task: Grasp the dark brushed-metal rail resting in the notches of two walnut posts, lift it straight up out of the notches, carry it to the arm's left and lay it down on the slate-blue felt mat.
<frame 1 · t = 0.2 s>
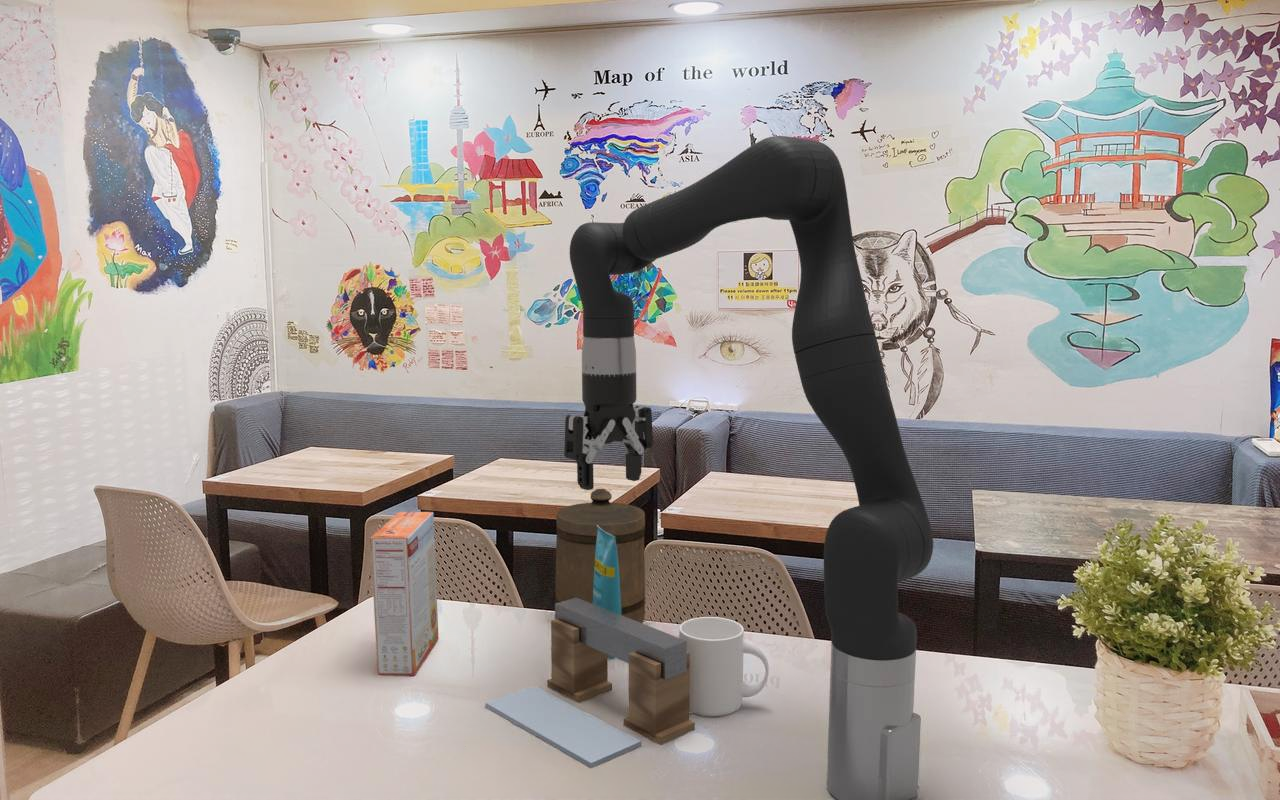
hand: (610, 484, 142), 28 cm above the table, tool pointing down, fingers open, 8 cm apart
rail: (617, 650, 135), point 8 cm above the table, touching post a, post b
wooden container: (600, 619, 169), on the table
cracker box: (408, 658, 153), on the table
post a: (658, 727, 130), on the table
mug: (723, 706, 137), on the table
mat: (560, 725, 131), on the table
post b: (579, 688, 142), on the table
tube: (606, 654, 154), on the table
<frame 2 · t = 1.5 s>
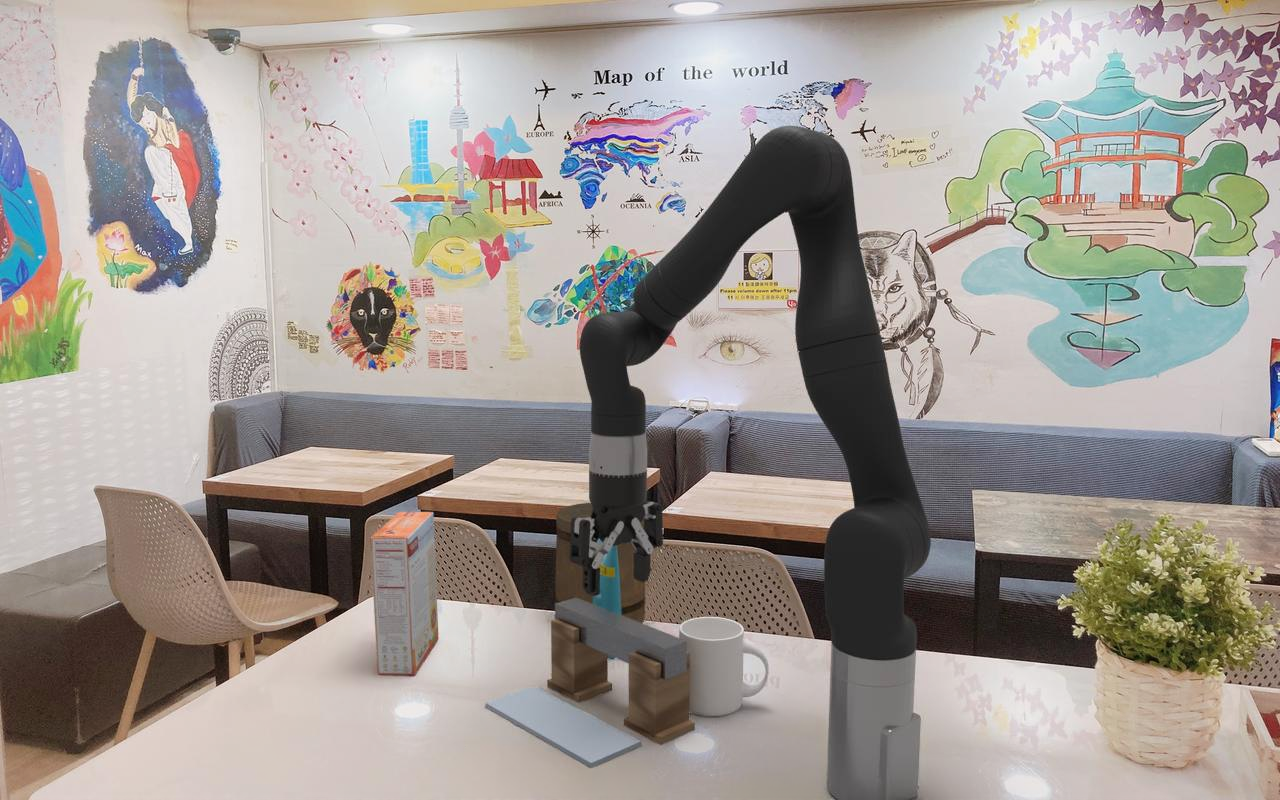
hand: (617, 587, 134), 17 cm above the table, tool pointing down, fingers open, 8 cm apart
nothing on the table moved.
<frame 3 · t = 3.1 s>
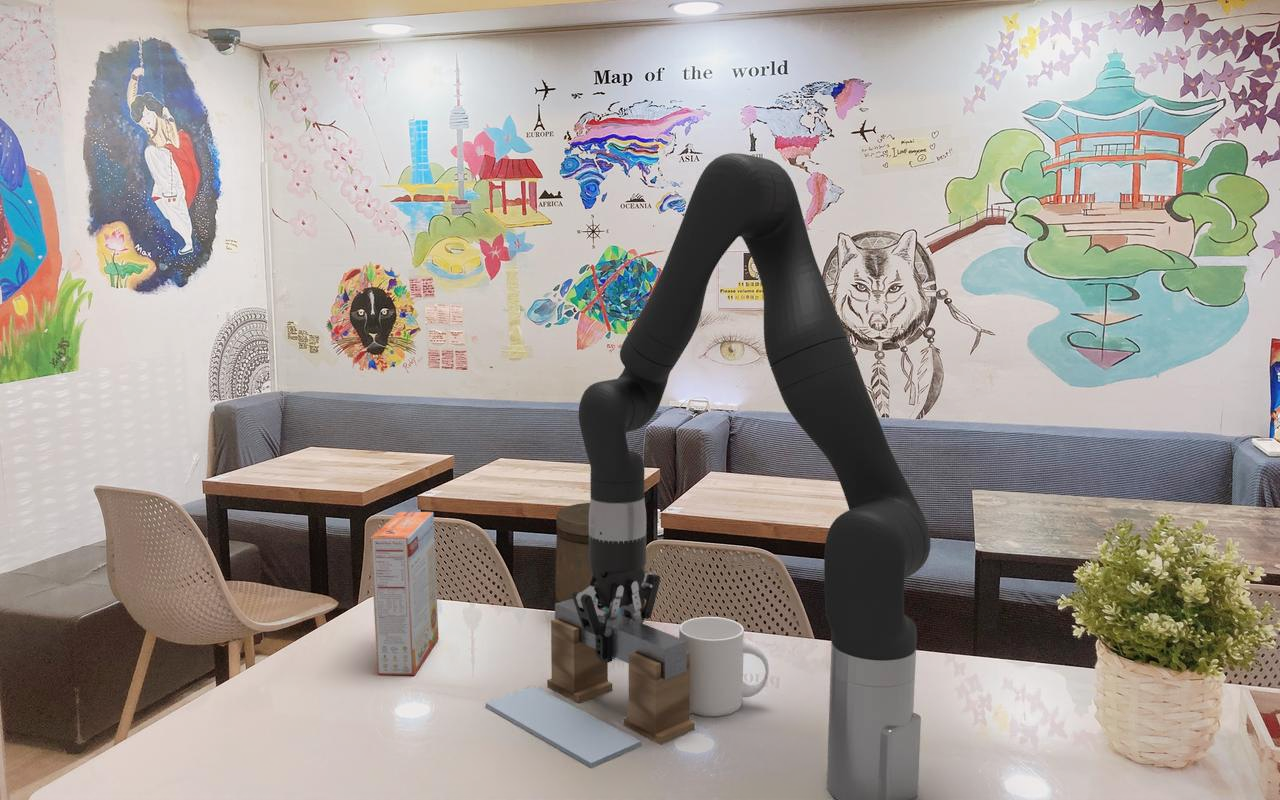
hand: (617, 655, 135), 7 cm above the table, tool pointing down, fingers closed on rail, 3 cm apart
rail: (617, 650, 135), point 8 cm above the table, touching gripper, post a, post b
everything else where it was.
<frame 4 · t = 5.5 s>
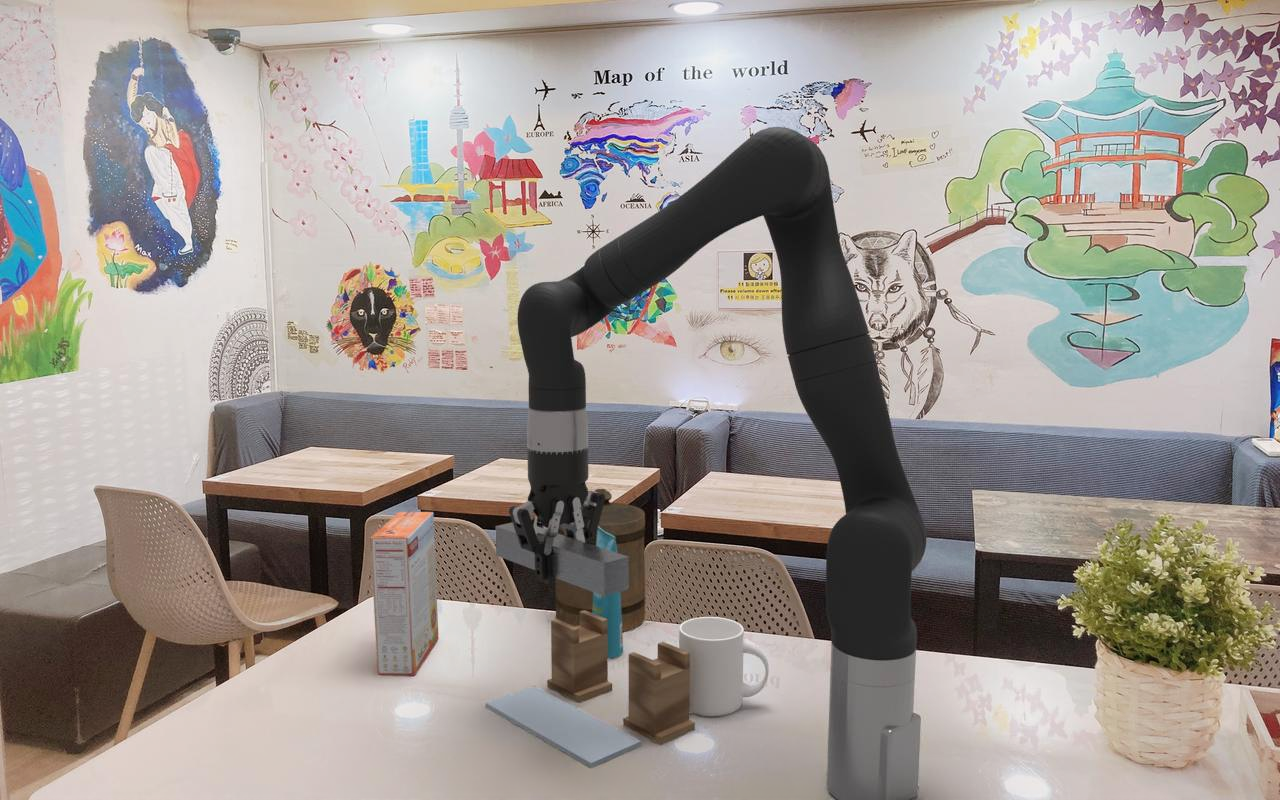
hand: (559, 577, 128), 20 cm above the table, tool pointing down, fingers closed on rail, 3 cm apart
rail: (558, 571, 128), point 21 cm above the table, touching gripper
everything else where it was.
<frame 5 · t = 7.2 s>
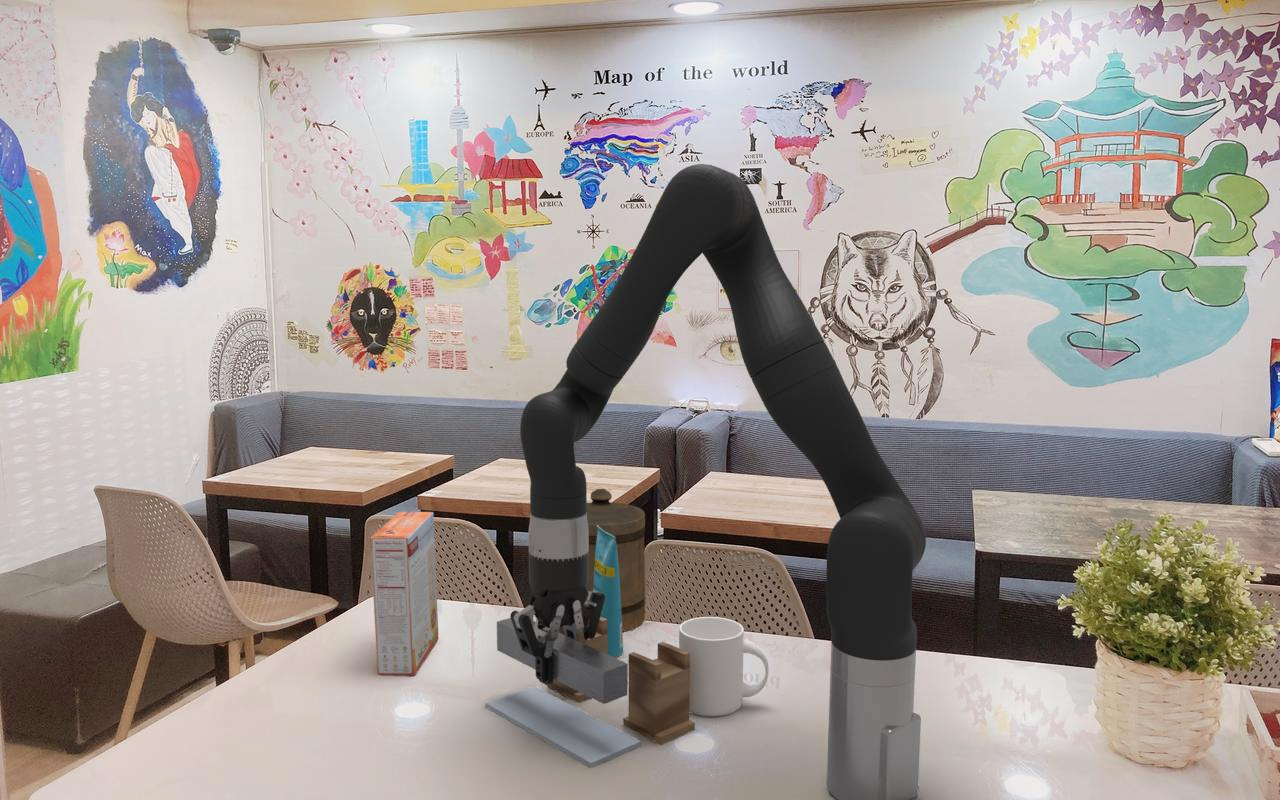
hand: (559, 677, 130), 7 cm above the table, tool pointing down, fingers closed on rail, 3 cm apart
rail: (558, 671, 130), point 7 cm above the table, touching gripper
everything else where it was.
when the fingers open (2 cm above the table, at t = 8.4 s): rail drops 2 cm, resting on mat.
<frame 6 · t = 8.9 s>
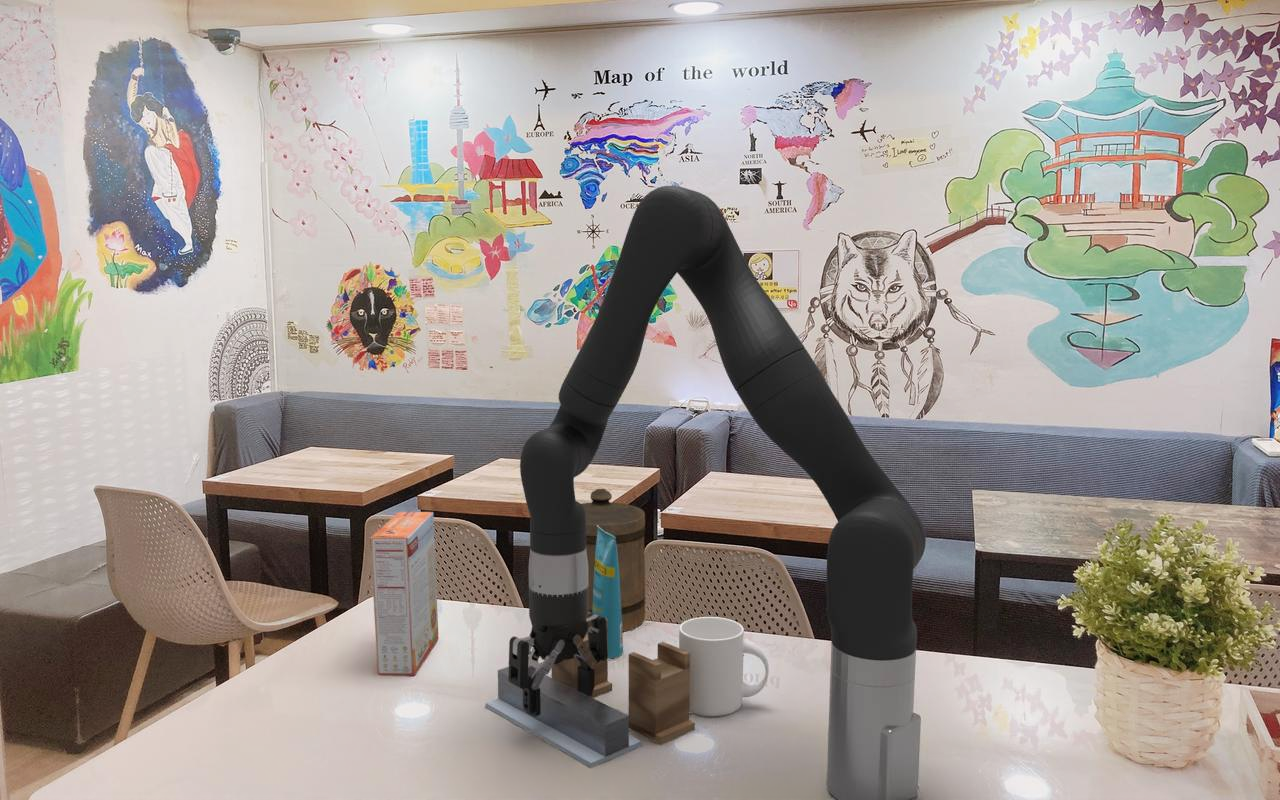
hand: (559, 704, 130), 3 cm above the table, tool pointing down, fingers open, 8 cm apart
rail: (560, 721, 131), point 1 cm above the table, touching mat
everything else where it was.
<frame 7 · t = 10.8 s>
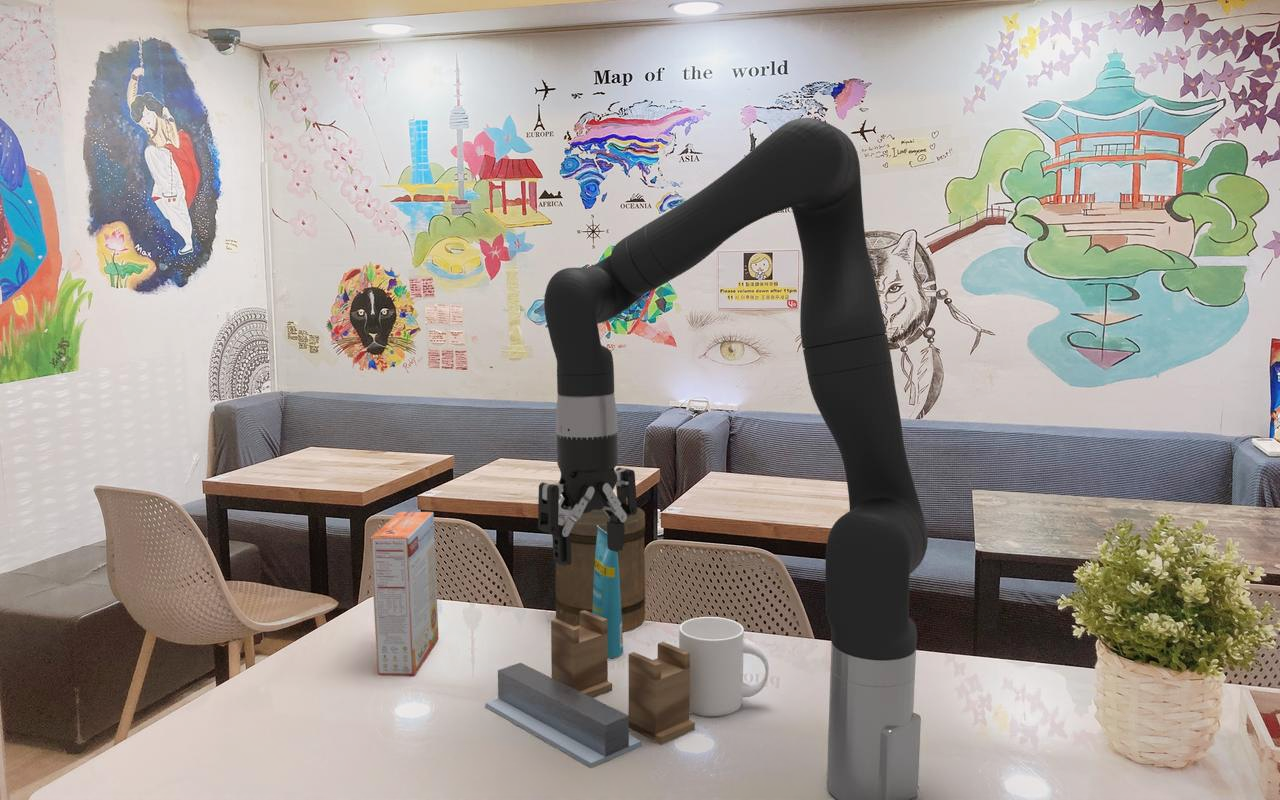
hand: (590, 557, 128), 22 cm above the table, tool pointing down, fingers open, 8 cm apart
nothing on the table moved.
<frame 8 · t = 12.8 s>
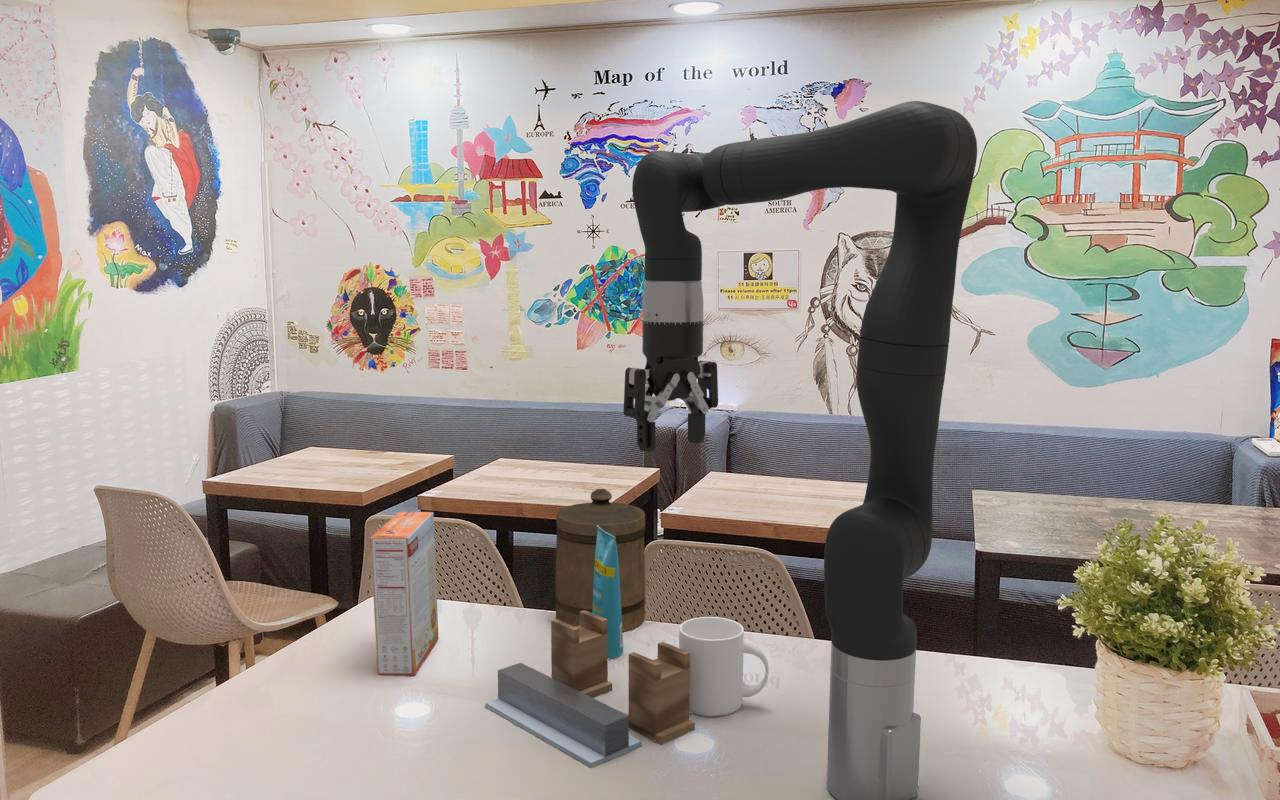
hand: (672, 446, 128), 36 cm above the table, tool pointing down, fingers open, 8 cm apart
nothing on the table moved.
at the end: rail inside the target area (0.7 cm from its centre), point 0.6 cm above the table; the gripper is holding nothing; rail touching mat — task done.
